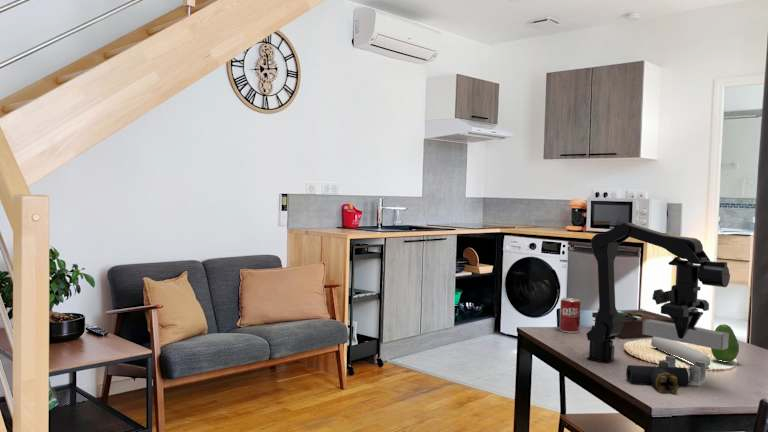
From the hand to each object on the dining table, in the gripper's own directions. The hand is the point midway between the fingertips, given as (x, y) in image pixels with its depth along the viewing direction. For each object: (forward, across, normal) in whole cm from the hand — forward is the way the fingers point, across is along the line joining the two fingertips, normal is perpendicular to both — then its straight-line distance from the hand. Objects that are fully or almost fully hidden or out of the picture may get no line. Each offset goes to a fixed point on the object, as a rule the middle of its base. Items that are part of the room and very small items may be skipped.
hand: (683, 337), depth 176 cm
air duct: (+1, 0, 0) cm, 1 cm away
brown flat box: (+13, -48, -37) cm, 62 cm away
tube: (+12, -24, -10) cm, 29 cm away
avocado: (+12, -30, +1) cm, 33 cm away
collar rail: (+12, 0, 0) cm, 12 cm away
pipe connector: (+13, +12, 0) cm, 18 cm away
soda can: (+12, -28, -52) cm, 61 cm away
